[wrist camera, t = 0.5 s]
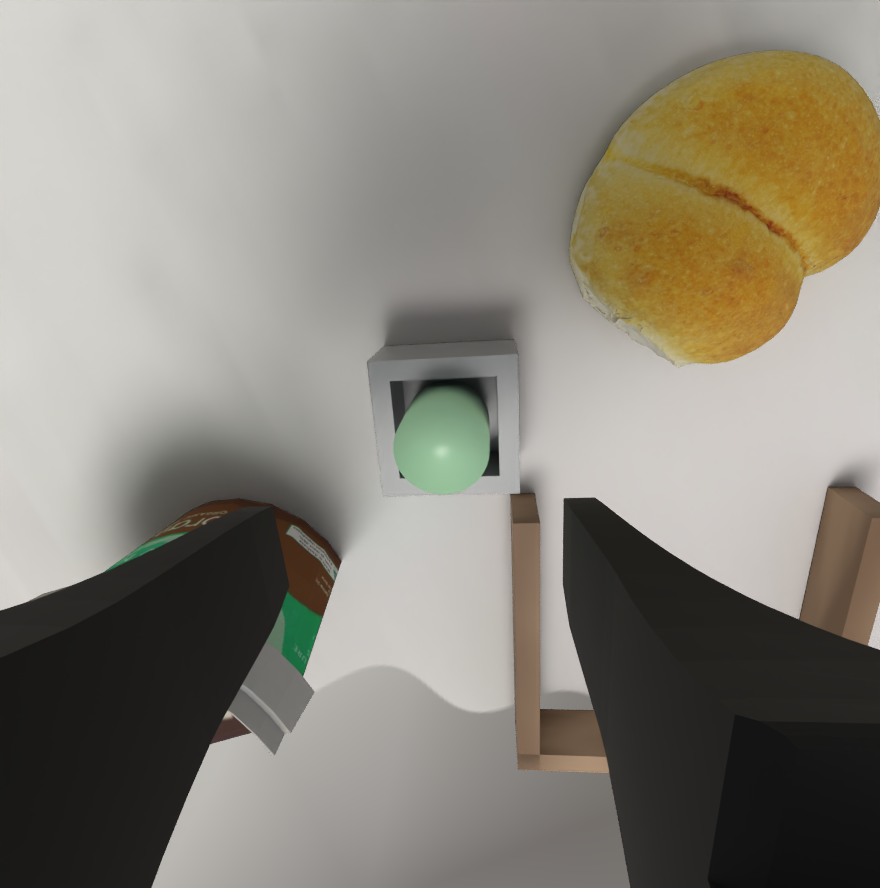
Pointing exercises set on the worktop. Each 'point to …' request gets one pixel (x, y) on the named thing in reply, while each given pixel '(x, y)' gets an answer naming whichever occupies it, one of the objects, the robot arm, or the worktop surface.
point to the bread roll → (727, 203)
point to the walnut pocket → (825, 606)
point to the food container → (291, 641)
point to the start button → (443, 438)
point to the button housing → (469, 363)
